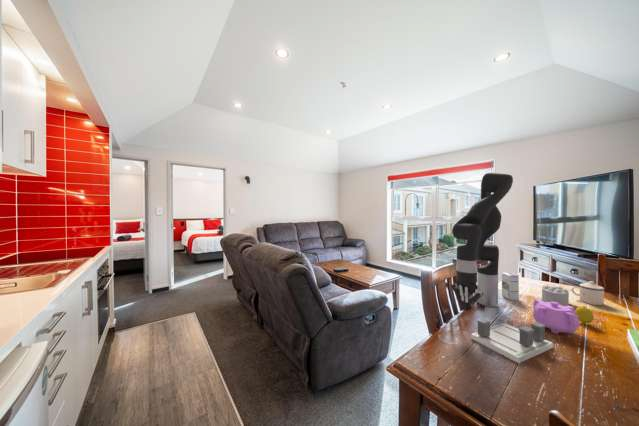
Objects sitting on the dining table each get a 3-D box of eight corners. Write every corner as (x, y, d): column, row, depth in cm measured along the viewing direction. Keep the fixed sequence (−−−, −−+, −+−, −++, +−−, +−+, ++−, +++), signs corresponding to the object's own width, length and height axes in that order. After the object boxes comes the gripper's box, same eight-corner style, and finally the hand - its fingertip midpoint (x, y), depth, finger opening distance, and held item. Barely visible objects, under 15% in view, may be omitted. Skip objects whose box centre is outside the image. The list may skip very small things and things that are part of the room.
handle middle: (518, 343, 84) (518, 327, 84) (524, 340, 85) (524, 325, 85) (527, 347, 81) (527, 331, 81) (534, 344, 83) (534, 329, 83)
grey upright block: (476, 334, 90) (476, 319, 90) (483, 332, 92) (483, 318, 92) (484, 337, 88) (484, 323, 87) (490, 335, 89) (490, 321, 89)
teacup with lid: (604, 302, 125) (604, 282, 125) (604, 307, 119) (604, 285, 119) (572, 296, 134) (572, 277, 134) (570, 300, 129) (570, 280, 129)
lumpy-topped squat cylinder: (568, 302, 126) (568, 286, 126) (568, 308, 118) (568, 292, 118) (542, 296, 134) (542, 282, 134) (540, 303, 125) (541, 287, 125)
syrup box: (519, 299, 130) (519, 275, 130) (509, 300, 130) (509, 275, 130) (511, 296, 135) (511, 272, 135) (501, 296, 135) (501, 272, 135)
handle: (530, 338, 87) (530, 323, 87) (536, 336, 88) (536, 321, 88) (540, 342, 84) (540, 327, 84) (545, 340, 86) (545, 325, 86)
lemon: (597, 327, 99) (597, 309, 99) (582, 326, 100) (582, 308, 100) (585, 321, 104) (585, 304, 104) (571, 320, 106) (571, 303, 106)
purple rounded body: (516, 319, 107) (516, 294, 107) (552, 318, 107) (552, 294, 107) (556, 340, 89) (556, 311, 89) (599, 340, 89) (599, 311, 89)
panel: (471, 338, 91) (471, 333, 91) (504, 327, 99) (504, 322, 99) (518, 363, 76) (518, 357, 76) (552, 348, 85) (552, 342, 85)
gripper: (488, 272, 91) (488, 315, 91) (457, 265, 104) (457, 303, 104) (476, 274, 88) (476, 318, 88) (446, 267, 101) (446, 305, 101)
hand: (466, 310), depth 96 cm, fingers closed
